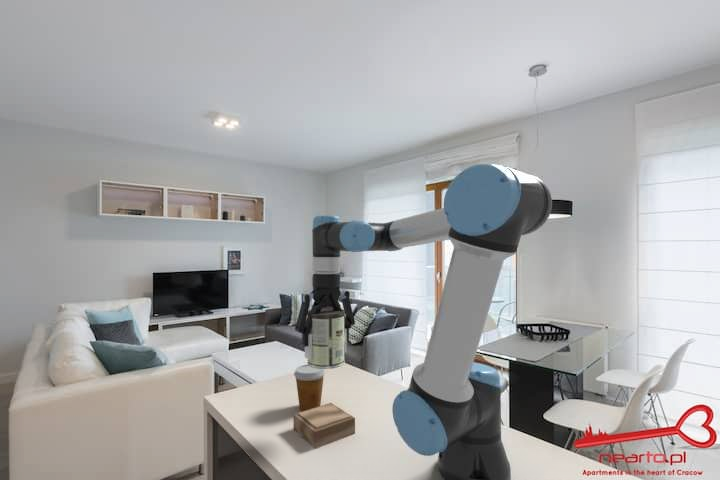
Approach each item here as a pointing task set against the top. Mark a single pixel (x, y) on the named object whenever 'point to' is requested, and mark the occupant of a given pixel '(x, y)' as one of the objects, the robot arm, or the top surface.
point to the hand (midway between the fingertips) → (326, 354)
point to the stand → (324, 424)
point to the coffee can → (327, 339)
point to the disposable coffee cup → (309, 386)
